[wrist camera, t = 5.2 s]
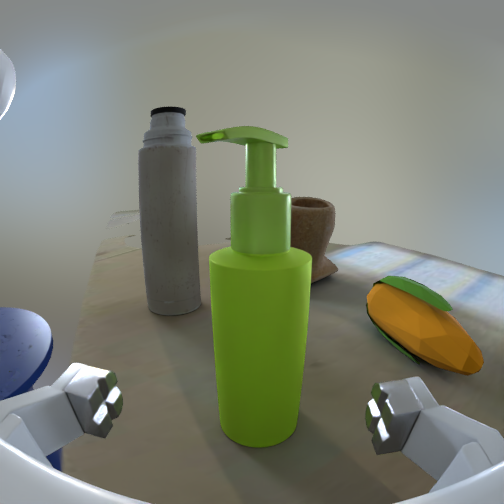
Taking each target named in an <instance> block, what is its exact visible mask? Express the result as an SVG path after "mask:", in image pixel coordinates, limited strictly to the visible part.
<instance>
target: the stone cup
mask: <svg viewBox="0 0 504 504" xmlns="http://www.w3.org/2000/svg"><path fill="white" fill-rule="evenodd" d="M334 225H335V208H334V206H333V205H332V204H331V203H330V202H328V201H325V200H322V199H318V198H312V197H294V198H291V244H290V247H293V248H297V249H300V250H303V251H305V252H307V253H309V254H310V255H311V256H312V270H311V283H313V282H315V281H318V280H320V279H322V278H324V277H327V276H329V275H331V274H333V273H335V272H337V271H338V268H337V267H336V265H335V264H333V263H332V262H331V261H330V260H329V259H327V258H326V257H325V256H324V254H325V251H326V248H327V246H328V243H329V240H330V237H331V235H332V232H333V230H334Z"/></svg>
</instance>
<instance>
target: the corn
mask: <svg viewBox="0 0 504 504" xmlns="http://www.w3.org/2000/svg"><path fill="white" fill-rule="evenodd" d="M366 306H367V314H368V315H369V317H370V319H371V321H372V322H373V324H374V325H375V326H376V327H377V329H378V330H379V331H380V332H381V334H382V335H383V336H384V337H385V338H386V339H387V340H388V341H389V342H391V343H392V344H393V345H394V346H395V347H396V348H397V349H398V350H400V351H401V352H402V353H404V354H405V355H406V356H408V357H409V358H411V359H412V360H413V361H415V362H416V363H418V364H420V362H419V361H417V360H416V359H414V358H413V357H412V356H411V355H410V354H408V353H407V352H406V351H405V350H404V349H403V348H402V347H401V346H400V345H399V344H401V345H402V346H403V347H405V348H406V349H407V350H408V351H410V352H411V353H413V354H414V355H416V356H418V357H420V358H421V359H423V360H425V361H427V362H429V363H430V364H432V365H434V366H436V367H438V368H441V369H445V370H449V371H452V372H456V373H460V374H464V375H467V376H468V375H471V374H474V373H477V372H479V371H480V369H481V368H482V365H483V363H484V361H483V357H482V353H481V351H480V349H479V348H478V346H477V345H476V344H475V342H474V341H473V340H472V339H471V337H470V336H469V335H468V333H467V332H466V331H465V330H464V328H463V327H462V326H461V325H460V324H459V322H458V321H457V320H456V319H455V318H454V317H453V316H452V315H450V314H449V313H448V312H447V311H450V310H453V309H452V307H451V306H450V304H449V303H448V302H447V301H446V300H445V299H444V298H443V297H442V296H441V295H439V294H437V293H436V292H434V291H432V290H431V289H429V288H428V287H426V286H425V285H423V284H420V283H418V282H416V281H414V280H411V279H408V278H406V277H398V276H387V277H385V278H383V279H381V280H379V281H377V282H375V283H373V288H372V290H371V291H370V292H369V294H368V295H367V304H366ZM390 336H391V337H390ZM395 340H396V341H397V342H398V343H399V344H398V343H397V342H396V341H395Z"/></svg>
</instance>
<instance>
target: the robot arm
mask: <svg viewBox="0 0 504 504" xmlns="http://www.w3.org/2000/svg"><path fill="white" fill-rule="evenodd" d="M15 84H16V75H15V69H14V66H13V64H12V62H11V60H10V59H9V57H8V56H6V54H4V52H3V51H2V50H1V48H0V119H1V117H2V116H3V115H4V114H5V112H6V111H7V109H8V107H9V105H10V103H11V101H12V98H13V95H14V91H15V86H16V85H15ZM117 382H118V381H117V378H116V375H115V373H114V372H112V371H110V370H105V369H101V368H97V367H93V366H89V365H84V364H80V363H73V364H72V365H71V366H70V367H69V368H68V369H67V370H66V371H65V372H64V373H63V374H62V375H61V377H59V379H57V381H56V382H55V383H54V384H53V385H52V386H51V387H49V386H45V387H42V388H39V389H36V390H33V391H30V392H27V393H24V394H21V395H18V396H15V397H12V398H9V399H5V400H2V401H0V504H151V503H147V502H143V501H139V500H136V499H132V498H129V497H126V496H122V495H119V494H116V493H113V492H110V491H107V490H104V489H101V488H99V487H96V486H93V485H91V484H88V483H86V482H83V481H81V480H78V479H76V478H74V477H71V476H69V475H67V474H65V473H62V472H60V471H58V470H56V469H54V468H52V465H51V464H50V462H49V461H48V460H47V458H46V457H45V456H47V455H49V454H51V453H52V452H54V451H56V450H58V449H59V448H61V447H63V446H64V445H66V444H68V443H69V442H71V441H73V440H75V439H76V438H78V437H80V436H81V435H83V434H84V433H87V434H91V435H94V436H97V437H101V438H106V437H107V435H108V433H109V432H110V430H111V428H112V427H113V424H112V420H113V419H115V418H117V417H118V416H119V415H120V413H121V411H122V406H123V398H122V394H121V391H120V390H119V389H118V388H117V387H116V386H115V385H116V384H117ZM371 394H372V396H373V399H372V400H371V401H370V402H369V403H368V405H367V408H366V418H365V419H366V425H367V428H368V431H370V432H371V433H373V434H374V435H373V437H372V443H373V446H374V449H375V452H376V455H380V454H386V453H392V452H398V451H401V452H402V453H403V454H404V455H405V456H407V457H408V458H409V459H410V460H412V461H413V462H414V463H415V464H417V465H418V466H419V467H420V468H422V469H423V470H424V471H425V472H427V473H428V474H429V475H431V476H432V477H433V478H434V479H436V480H437V483H436V484H435V485H434V486H433V488H432V489H431V490H430V491H429V493H428V494H425V495H422V496H419V497H415V498H412V499H408V500H405V501H401V502H397V503H394V504H504V439H503V437H502V436H501V434H500V433H499V432H498V430H496V429H493V428H491V427H489V426H487V425H484V424H482V423H480V422H478V421H476V420H473V419H471V418H469V417H467V416H465V415H463V414H461V413H458V412H456V411H454V410H452V409H450V408H448V407H446V406H444V405H442V406H439V405H438V403H437V402H436V400H435V399H434V397H433V396H432V394H431V393H430V391H429V390H428V388H427V387H426V385H425V384H424V382H423V381H422V379H421V378H420V377H418V376H417V377H411V378H405V379H401V380H394V381H387V382H379V383H375V384H374V386H373V388H372V391H371Z"/></svg>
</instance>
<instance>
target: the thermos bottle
mask: <svg viewBox="0 0 504 504" xmlns="http://www.w3.org/2000/svg"><path fill="white" fill-rule="evenodd" d="M185 115H186V110H185V109H183V108H179V107H160V108H156V109H153V110H152V111H151V117H152V120H151V123H150V130H149V131H147V132H146V133H145V134H144V140H143V143H144V147H143V148H142V149H140V150H139V208H140V227H141V242H142V255H143V266H144V276H145V285H146V293H147V301H148V307H149V309H150V310H151V311H152V312H154V313H157V314H161V315H181V314H186V313H189V312H192V311H194V310H196V309H197V308H198V307H199V306H200V304H201V296H200V280H199V260H198V237H197V203H196V148H195V147H194V146H191V139H192V136H191V132H190V131H189V130H187V129H186V128H185V119H184V116H185Z"/></svg>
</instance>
